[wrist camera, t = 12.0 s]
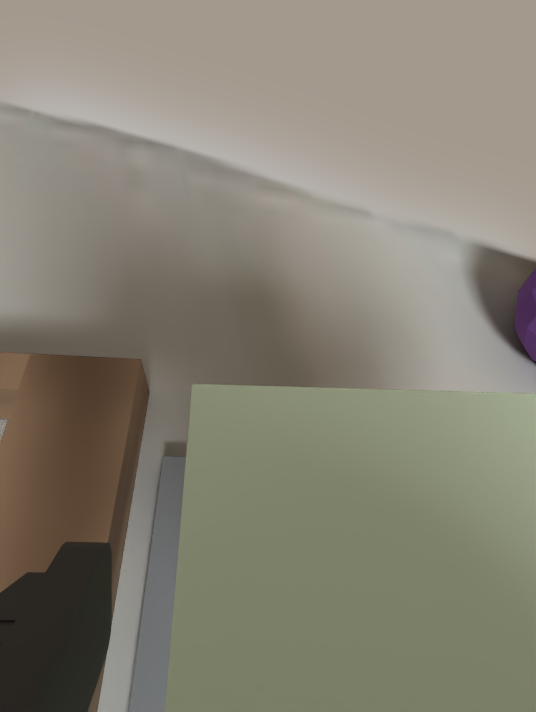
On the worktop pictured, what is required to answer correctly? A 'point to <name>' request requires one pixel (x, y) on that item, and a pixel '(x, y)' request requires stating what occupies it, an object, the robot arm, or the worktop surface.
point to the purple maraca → (527, 315)
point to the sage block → (356, 552)
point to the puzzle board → (67, 458)
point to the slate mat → (159, 593)
